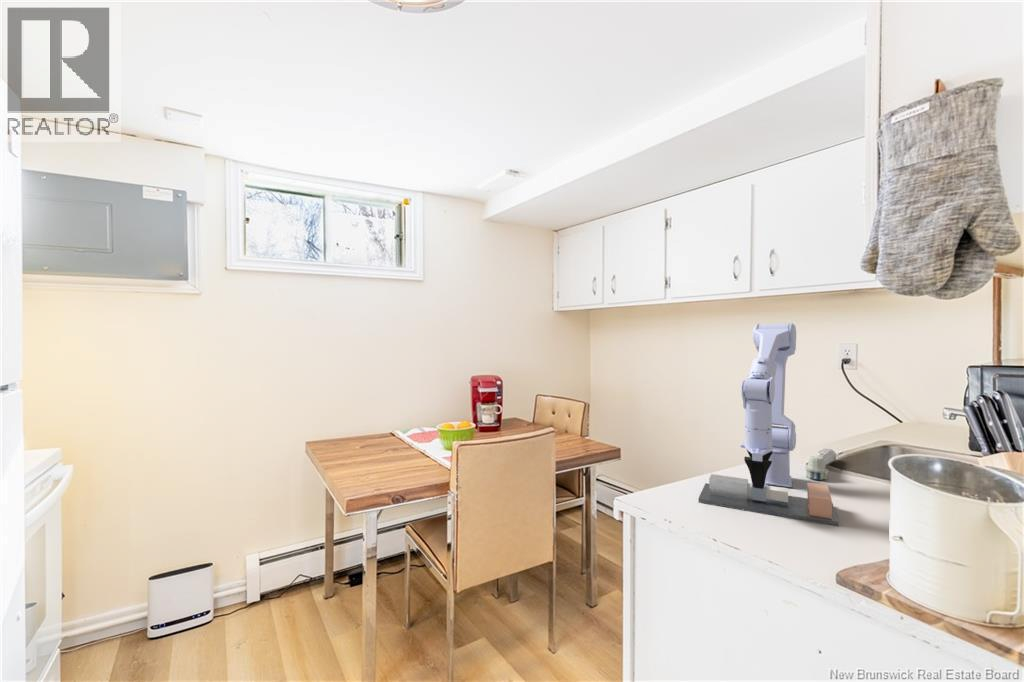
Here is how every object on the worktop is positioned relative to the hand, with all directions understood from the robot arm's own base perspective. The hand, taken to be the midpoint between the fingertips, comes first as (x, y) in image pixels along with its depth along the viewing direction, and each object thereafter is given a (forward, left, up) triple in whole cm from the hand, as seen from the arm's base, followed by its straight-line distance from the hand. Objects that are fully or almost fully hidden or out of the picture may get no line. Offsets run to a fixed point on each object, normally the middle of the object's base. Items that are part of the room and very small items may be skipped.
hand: (759, 482), depth 107 cm
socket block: (0, +12, -4) cm, 13 cm away
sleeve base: (0, +1, -5) cm, 5 cm away
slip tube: (0, -2, -4) cm, 4 cm away
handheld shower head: (-37, +15, -6) cm, 41 cm away
